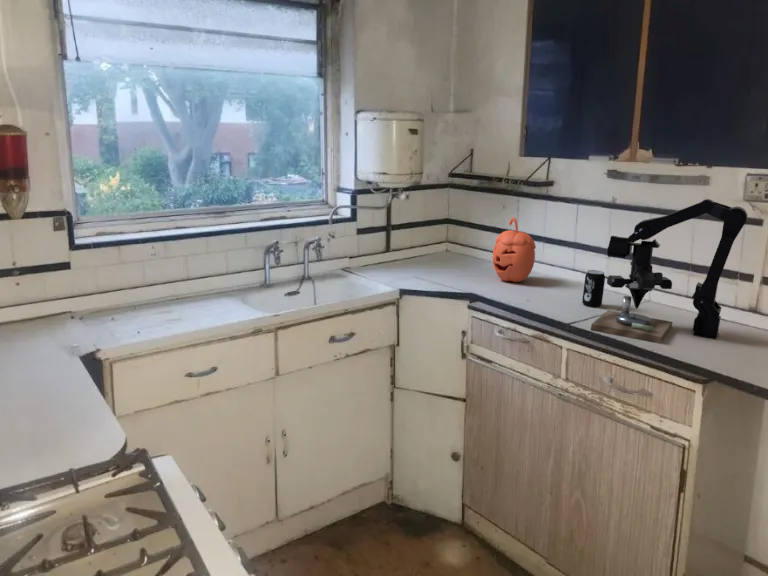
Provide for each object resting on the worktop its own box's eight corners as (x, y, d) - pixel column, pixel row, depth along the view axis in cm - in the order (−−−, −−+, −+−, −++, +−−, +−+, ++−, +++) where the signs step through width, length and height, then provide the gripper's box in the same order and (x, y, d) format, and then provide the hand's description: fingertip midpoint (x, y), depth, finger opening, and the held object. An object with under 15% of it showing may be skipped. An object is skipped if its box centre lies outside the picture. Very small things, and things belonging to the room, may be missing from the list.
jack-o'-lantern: (480, 277, 271) (485, 215, 265) (511, 274, 281) (517, 214, 275) (512, 287, 257) (518, 222, 251) (544, 283, 266) (551, 220, 260)
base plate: (671, 327, 213) (673, 316, 213) (659, 343, 197) (661, 331, 196) (607, 316, 223) (608, 305, 222) (590, 330, 207) (592, 318, 206)
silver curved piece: (654, 327, 204) (657, 308, 203) (621, 325, 205) (623, 306, 203) (639, 314, 218) (642, 296, 217) (608, 312, 219) (610, 294, 217)
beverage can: (602, 308, 233) (606, 274, 230) (582, 306, 234) (586, 272, 231) (600, 304, 239) (604, 270, 236) (581, 302, 240) (585, 269, 237)
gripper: (619, 264, 205) (614, 314, 209) (682, 266, 205) (675, 316, 208) (608, 257, 216) (604, 305, 220) (668, 259, 216) (662, 306, 219)
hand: (636, 308), depth 216 cm, fingers closed
